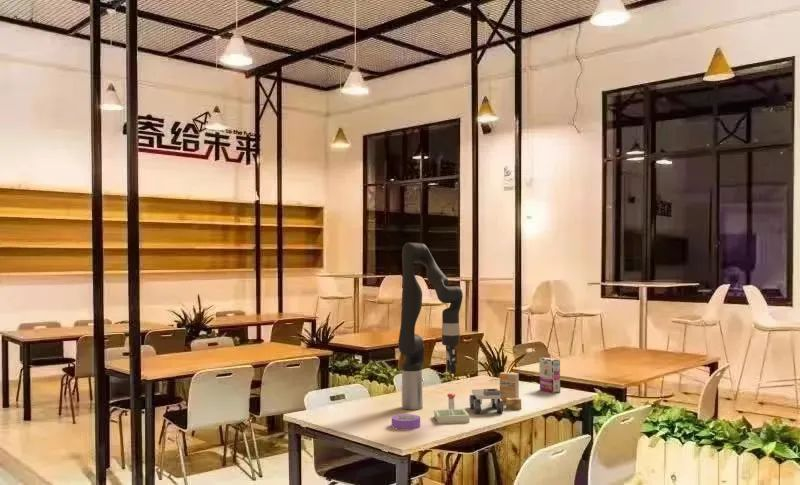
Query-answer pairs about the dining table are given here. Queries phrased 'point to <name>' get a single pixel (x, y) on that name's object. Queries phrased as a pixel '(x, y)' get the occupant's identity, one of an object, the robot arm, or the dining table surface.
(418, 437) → the dining table surface
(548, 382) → the candy bar box
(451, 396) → the pin
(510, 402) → the block
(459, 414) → the tray
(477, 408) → the trolley
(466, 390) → the dining table surface
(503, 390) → the supplement box
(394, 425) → the masking tape
